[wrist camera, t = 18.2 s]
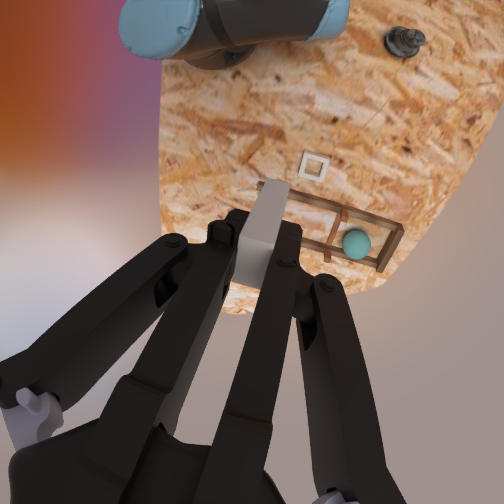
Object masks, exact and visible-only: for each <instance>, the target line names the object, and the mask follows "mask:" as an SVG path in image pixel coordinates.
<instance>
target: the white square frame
mask: <svg viewBox="0 0 504 504" xmlns="http://www.w3.org/2000/svg"><path fill="white" fill-rule="evenodd" d="M308 158H309V159H312V160H316V161H319V162H323V164H322V168H321V171H320V174H318V173H315V172H311V171H308V170H305V167H306V164H307V160H308ZM329 162H330V157H329V156H326V155H322V154H319V153H315V152H312V151H308V150H305V151H304V155H303V158H302V162H301V166H300V170H299V174H298V176H300V177H303V178H307V179H310V180H314V181H317V182H321V183H323V182H324V178H325V175H326V172H327V169H328V165H329Z"/></svg>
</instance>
